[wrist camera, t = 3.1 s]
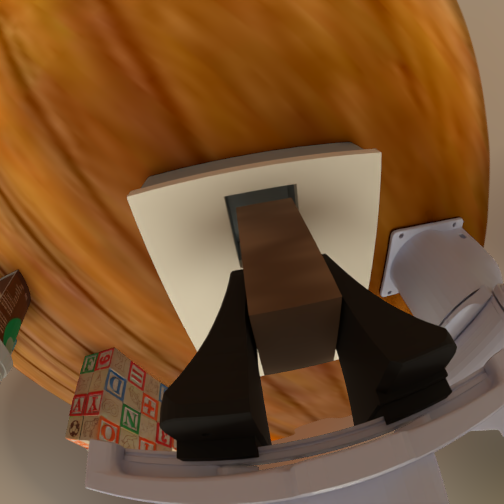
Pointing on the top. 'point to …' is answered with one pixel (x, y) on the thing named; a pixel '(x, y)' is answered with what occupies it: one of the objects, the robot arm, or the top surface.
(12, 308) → the food container
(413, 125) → the top surface
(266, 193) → the shallow tray
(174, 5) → the top surface
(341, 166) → the lid
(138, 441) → the stack of blocks
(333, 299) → the walnut key
